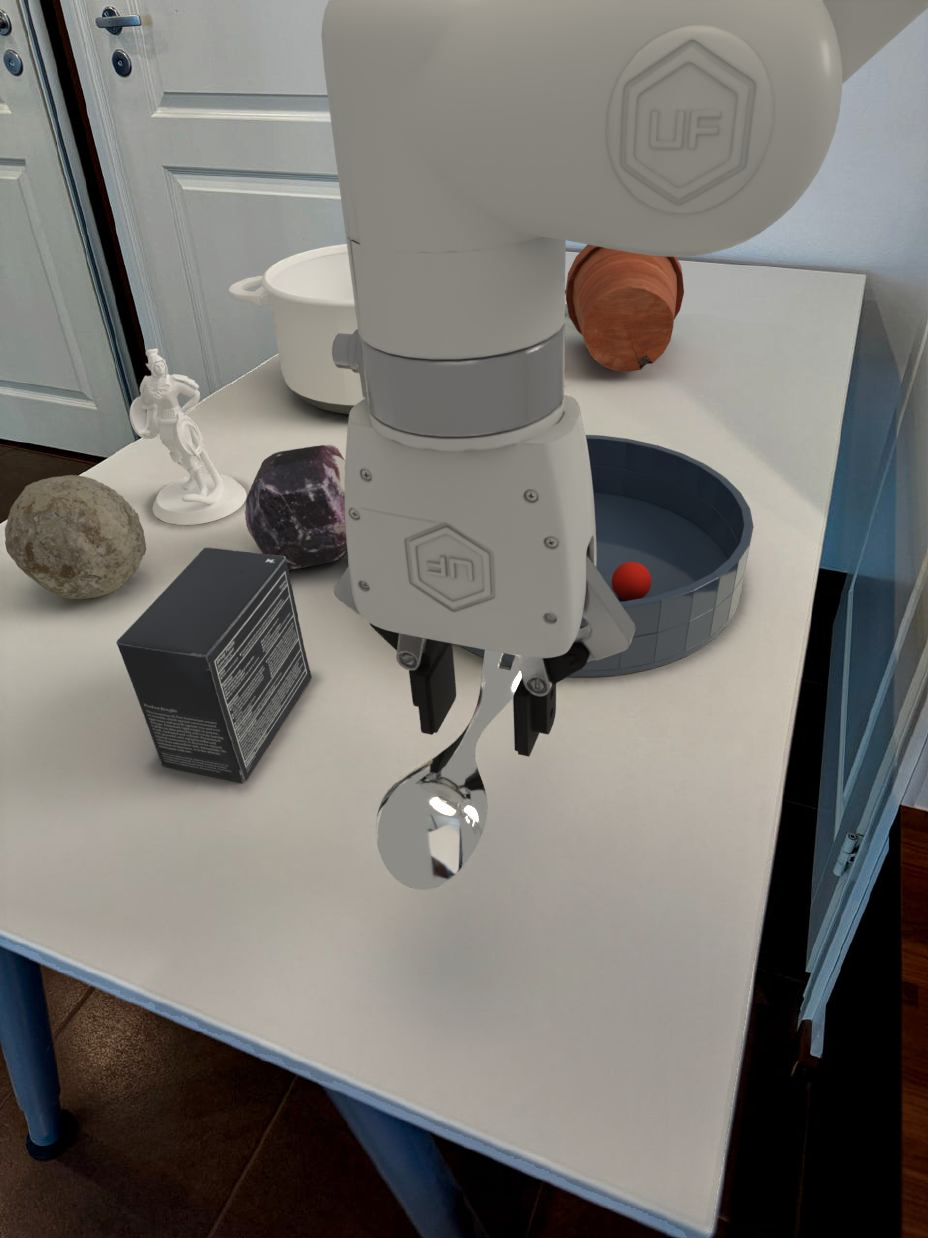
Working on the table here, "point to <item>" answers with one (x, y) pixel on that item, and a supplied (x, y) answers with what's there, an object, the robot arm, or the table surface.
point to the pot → (310, 323)
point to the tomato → (631, 581)
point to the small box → (218, 662)
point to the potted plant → (624, 305)
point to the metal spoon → (443, 797)
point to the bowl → (665, 549)
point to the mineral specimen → (300, 506)
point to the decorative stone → (75, 536)
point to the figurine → (181, 449)
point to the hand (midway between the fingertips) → (484, 723)
